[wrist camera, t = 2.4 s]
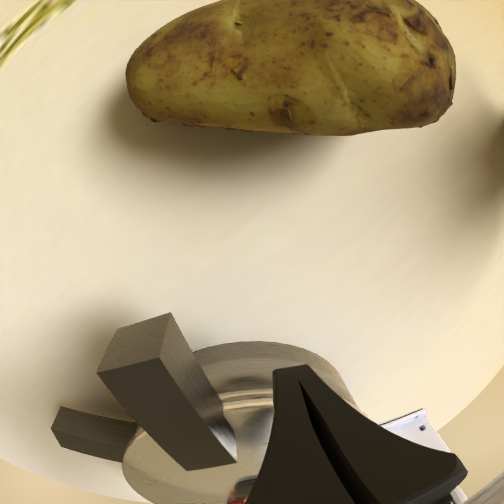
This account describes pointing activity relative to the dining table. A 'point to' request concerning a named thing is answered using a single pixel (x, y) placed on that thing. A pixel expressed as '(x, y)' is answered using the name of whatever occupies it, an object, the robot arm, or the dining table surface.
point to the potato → (296, 67)
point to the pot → (221, 378)
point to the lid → (182, 420)
